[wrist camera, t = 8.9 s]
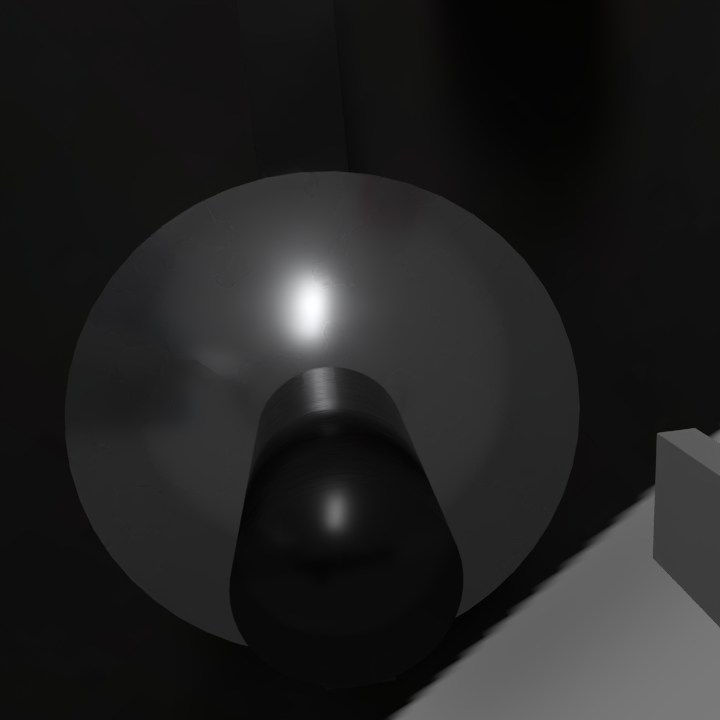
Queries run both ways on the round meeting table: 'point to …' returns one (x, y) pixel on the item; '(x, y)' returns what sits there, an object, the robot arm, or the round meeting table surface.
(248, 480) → the lid
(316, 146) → the pot
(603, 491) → the round meeting table surface
